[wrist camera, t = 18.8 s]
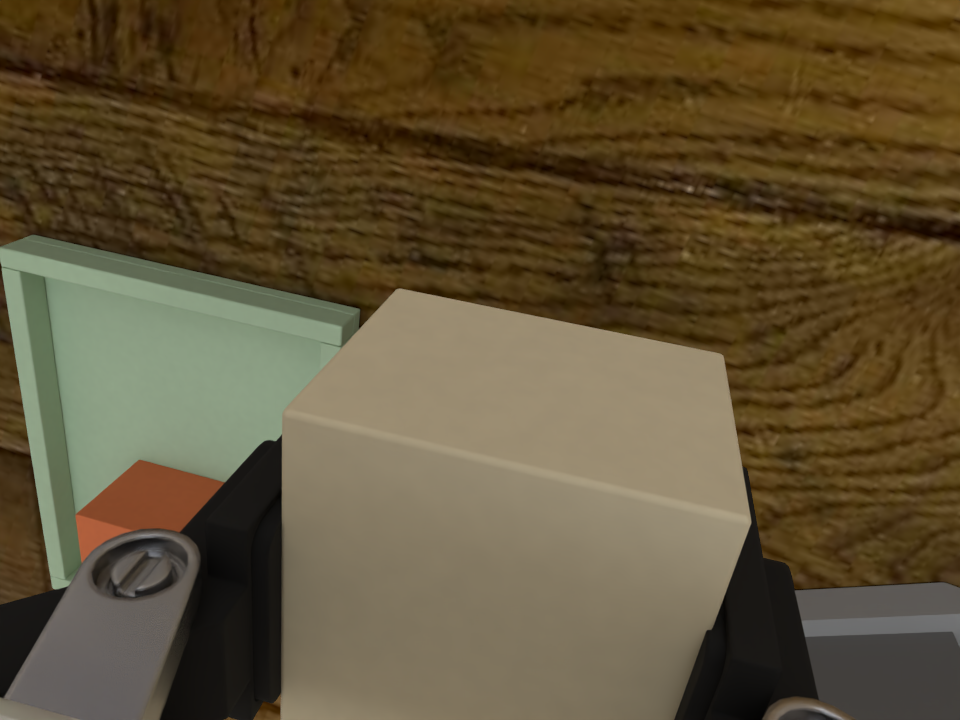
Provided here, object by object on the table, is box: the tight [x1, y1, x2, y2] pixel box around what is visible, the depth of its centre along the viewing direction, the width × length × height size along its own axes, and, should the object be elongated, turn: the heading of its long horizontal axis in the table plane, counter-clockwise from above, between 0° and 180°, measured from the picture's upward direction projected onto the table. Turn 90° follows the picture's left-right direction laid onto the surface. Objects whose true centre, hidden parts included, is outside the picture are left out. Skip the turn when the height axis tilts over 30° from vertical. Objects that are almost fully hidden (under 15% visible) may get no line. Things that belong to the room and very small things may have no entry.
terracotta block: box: [75, 460, 225, 562], centre depth 32 cm, size 6×5×4 cm
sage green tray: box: [0, 235, 360, 589], centre depth 31 cm, size 17×14×2 cm
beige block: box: [281, 289, 751, 720], centre depth 11 cm, size 6×5×4 cm
